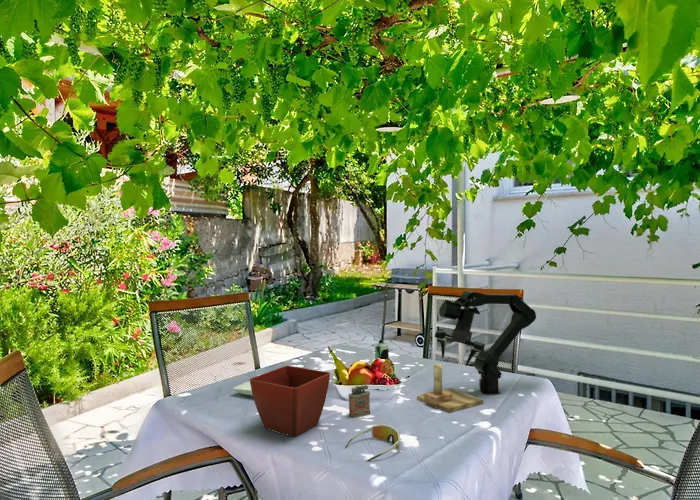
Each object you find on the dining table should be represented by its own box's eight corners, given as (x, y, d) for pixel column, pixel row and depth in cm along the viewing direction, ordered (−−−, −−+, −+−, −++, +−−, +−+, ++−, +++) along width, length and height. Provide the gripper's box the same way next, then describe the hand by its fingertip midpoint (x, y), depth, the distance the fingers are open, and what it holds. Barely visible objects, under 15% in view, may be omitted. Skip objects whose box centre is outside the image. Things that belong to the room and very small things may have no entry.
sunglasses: (410, 449, 138) (408, 433, 138) (370, 472, 130) (368, 455, 129) (379, 434, 150) (377, 419, 149) (340, 454, 141) (337, 438, 140)
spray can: (388, 390, 193) (387, 340, 193) (374, 390, 194) (373, 340, 194) (389, 386, 198) (389, 338, 198) (376, 386, 199) (375, 337, 199)
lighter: (351, 418, 163) (351, 389, 163) (347, 415, 166) (346, 386, 166) (372, 414, 167) (371, 385, 167) (367, 411, 170) (366, 383, 170)
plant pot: (296, 444, 143) (295, 387, 143) (248, 431, 153) (247, 378, 153) (332, 423, 160) (331, 372, 159) (287, 412, 170) (286, 365, 169)
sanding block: (440, 396, 180) (440, 361, 180) (452, 400, 175) (451, 364, 175) (424, 400, 176) (423, 364, 176) (435, 404, 171) (434, 368, 171)
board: (450, 391, 190) (450, 387, 190) (483, 403, 176) (483, 399, 176) (417, 399, 181) (417, 395, 181) (448, 413, 167) (448, 408, 167)
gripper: (437, 316, 182) (427, 356, 181) (487, 329, 176) (476, 371, 175) (441, 316, 193) (432, 354, 192) (489, 329, 186) (479, 369, 185)
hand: (454, 362), depth 186 cm, fingers open, 9 cm apart
